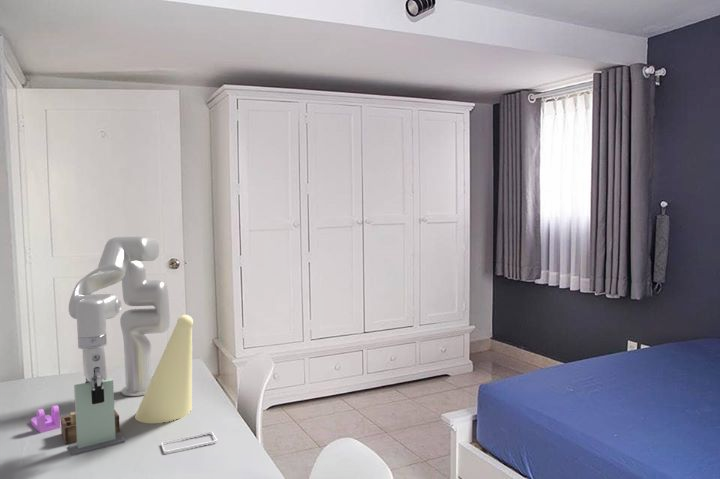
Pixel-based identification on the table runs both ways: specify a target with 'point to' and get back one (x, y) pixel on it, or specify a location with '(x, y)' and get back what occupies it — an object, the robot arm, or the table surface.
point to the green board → (94, 415)
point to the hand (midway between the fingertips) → (95, 398)
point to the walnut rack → (70, 430)
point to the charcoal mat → (96, 445)
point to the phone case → (187, 446)
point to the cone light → (171, 379)
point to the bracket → (47, 420)
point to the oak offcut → (73, 418)
